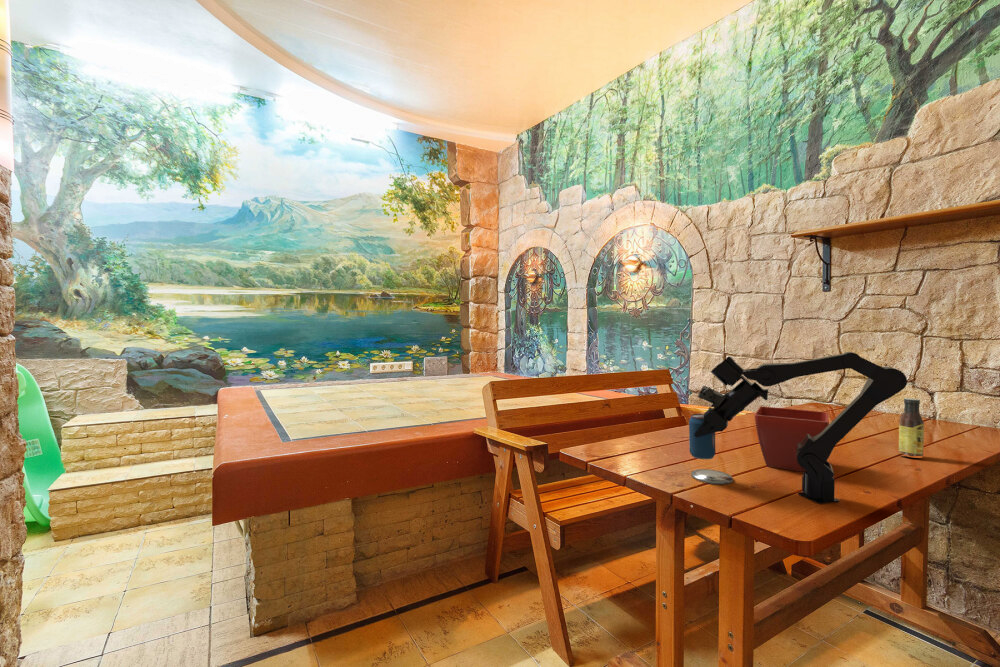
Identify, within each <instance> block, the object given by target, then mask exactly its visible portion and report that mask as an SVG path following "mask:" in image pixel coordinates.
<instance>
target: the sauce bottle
mask: <svg viewBox="0 0 1000 667" xmlns="http://www.w3.org/2000/svg"><path fill="white" fill-rule="evenodd" d="M903 403H904V407H903V408H904V409H903V410H904V411H903V413H902V414H900V417H899V425H898V453H899V452H900V453H902V454H905V455H909V456H924V442H925V441H924V439H925V438H924V437H925V423H924V420H923V418H922V416H921V413H920V404H921V400H920V399H919V398H904V399H903Z"/></svg>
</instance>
